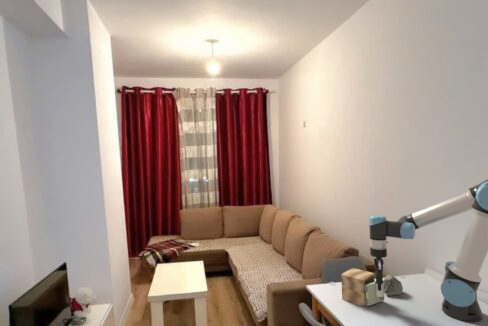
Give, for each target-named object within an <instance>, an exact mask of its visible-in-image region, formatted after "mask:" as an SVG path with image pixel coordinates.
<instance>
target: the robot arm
mask: <svg viewBox="0 0 488 326" xmlns="http://www.w3.org/2000/svg"><path fill="white" fill-rule="evenodd" d="M471 210H472V212H473V214H472V217H471V220H470V221H469V222H470V223H469V225H468V227H467V230H466V233H465V236H464V237H463V240H462V242H461V246H460V248H459V251H458V253H457V256H456V259H455V261H446V262H445V265H444V268H445V274H444V277H443V278H442V279H443V280H442V282H441V284H440V293H441V295H442V297H443V301H442V302H441V310H442V312H443V313H444V314H445V315H447V316H448V317H450V318H453V319H455V320H459V321H464V322H470V323H471V322H473V323H474V322H479V321H482V319H483V311H482V309H481V306H480V304H479V301H478V294H477V293H478V289H479V287H480V285H481V282H482V278H481V276H480V274H479V273H480V272H481V269H482V267H483V264H484V262H485V260H486V257H487V255H488V179H485V180H483V181H481V182H480V183H478V184H476V185H474V186H472V187H470V188H468V189H467V191H466V192H464V193H461V194H459V195H455V196H454V197H451V198H449V199H446V200H443V201H441V202H438V203H436V204H435V203H434V204H433V205H431V206H428V207H426V208H423V209H420V210H418V211H416V212H415V211H414V212H413V213H410V214H409V215H408V214H407V215H404V216H401V217H400V218H399V219H398V220H397V221H392V220H387V217H386V216H384V215H378V214H375V215H370V217H369V225H368V226H369V247H370V248H369V254H370V256H371V257H373V258H374V257H375V258H374V259H373V262H374V269H375V283H376V296H377V297H383V290H382V284H383V280H384V279H383V275H384V274H383V272H384V260H383V258H386V257H387V256H388V250H387V246H388V245H387V244H388V243H389V242H388V241H387V238H396V239H402V240H414V238H415V236H416V230H418V229H421V228H423V227H427V226H429V225H432V224H435V223H437V222H441V221H444V220H447V219H449V218H451V217H454V216H455V217H456V216H457V215H461V214H463V213H466V212H469V211H471Z"/></svg>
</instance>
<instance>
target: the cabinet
mask: <svg viewBox="0 0 488 326" xmlns="http://www.w3.org/2000/svg"><path fill="white" fill-rule="evenodd" d="M340 276H341V277H340V278H341V300H344V301H345V302H349V303H352V304H354V305H355V304H356V305H358V306H361V307H367V305H366V304H365V299H366V292H365V285H366V284H369V283H373V282H376V277H375V273H374V272H371V271H366V270H362V269H359V268H354V267H351V268H350V269H348V270H346V271H344V272H342V273H341V275H340Z"/></svg>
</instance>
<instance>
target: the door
mask: <svg viewBox="0 0 488 326" xmlns="http://www.w3.org/2000/svg"><path fill="white" fill-rule="evenodd" d="M375 282H376V281H375ZM375 282H373V283H369V284H366V285H365V292H366V299H365V304H366V307H367V306H372V305H375V304H378V303H380V302H384V301H385V293H384V279H383V284H382V290H383V297H377V296H376V283H375Z"/></svg>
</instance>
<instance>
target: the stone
mask: <svg viewBox="0 0 488 326" xmlns="http://www.w3.org/2000/svg"><path fill="white" fill-rule="evenodd" d="M383 280H384V295H387V296H398V295H401V294H402V293H403V291H404V288H403V284H402V281H400V280H399V279H398V278H397V277H395V276H394V275H392V274H387V275H386V276H385V277H384V279H383Z"/></svg>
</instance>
